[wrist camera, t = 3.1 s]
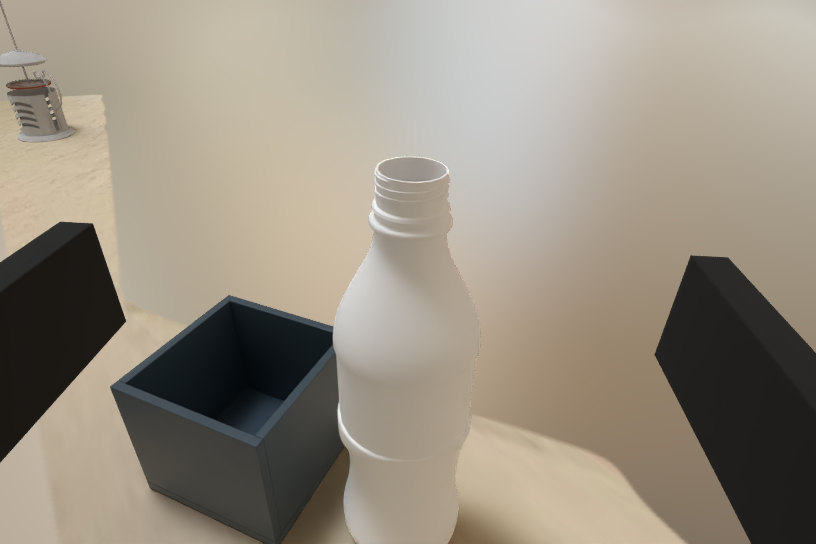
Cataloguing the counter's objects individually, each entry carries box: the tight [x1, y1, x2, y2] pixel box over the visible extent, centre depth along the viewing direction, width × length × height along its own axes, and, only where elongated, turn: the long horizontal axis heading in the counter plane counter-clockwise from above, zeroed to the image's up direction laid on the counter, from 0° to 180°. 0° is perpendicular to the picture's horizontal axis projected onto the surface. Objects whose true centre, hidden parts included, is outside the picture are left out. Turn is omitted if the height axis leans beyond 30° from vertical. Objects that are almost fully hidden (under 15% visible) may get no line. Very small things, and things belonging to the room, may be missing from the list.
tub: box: [110, 295, 345, 544], centre depth 36 cm, size 11×11×10 cm
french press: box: [0, 2, 75, 142], centre depth 94 cm, size 10×12×25 cm
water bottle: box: [333, 156, 481, 544], centre depth 27 cm, size 7×7×25 cm
